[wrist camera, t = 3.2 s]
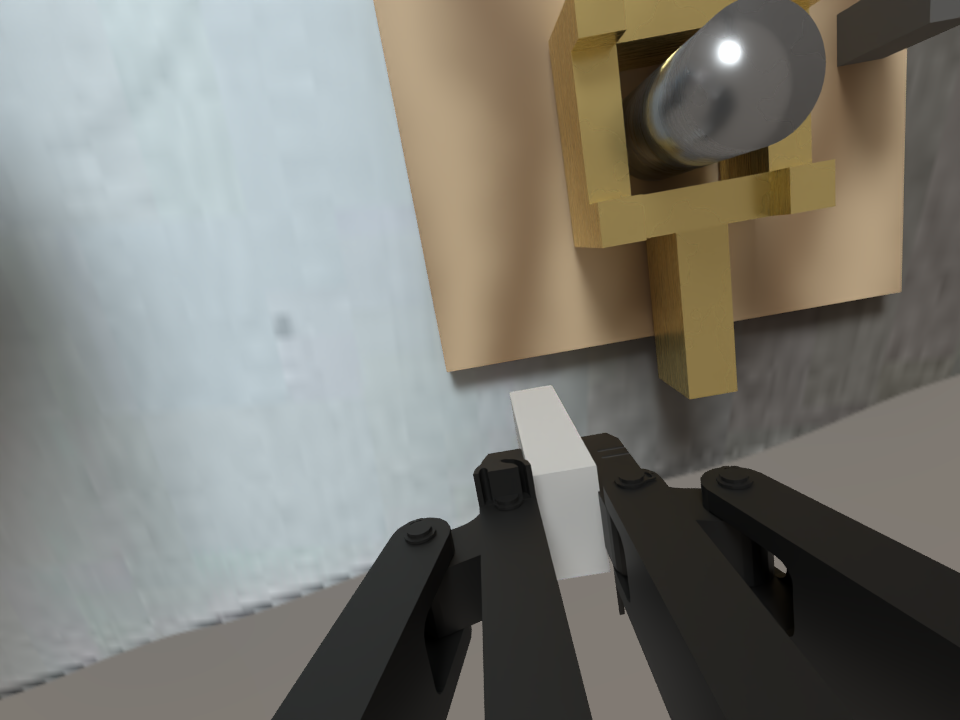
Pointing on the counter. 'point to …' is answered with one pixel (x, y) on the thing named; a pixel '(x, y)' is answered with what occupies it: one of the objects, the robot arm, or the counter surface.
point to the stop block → (890, 27)
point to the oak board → (624, 268)
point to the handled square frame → (673, 213)
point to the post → (726, 90)
